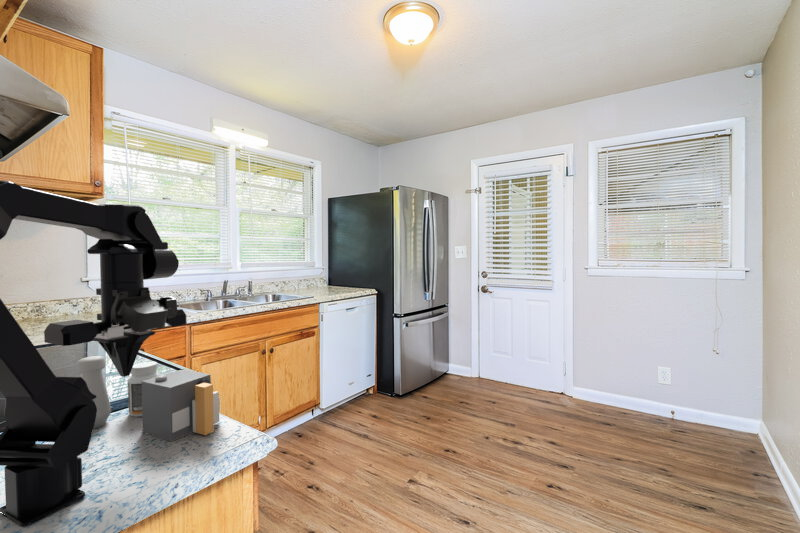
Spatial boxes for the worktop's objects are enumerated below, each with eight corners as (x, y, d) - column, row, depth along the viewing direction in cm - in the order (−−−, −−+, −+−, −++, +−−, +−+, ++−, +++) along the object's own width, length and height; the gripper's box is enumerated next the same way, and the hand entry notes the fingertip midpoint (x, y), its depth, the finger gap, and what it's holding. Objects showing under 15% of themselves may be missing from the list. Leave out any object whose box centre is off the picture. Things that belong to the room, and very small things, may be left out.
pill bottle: (168, 408, 81) (167, 361, 81) (143, 419, 76) (142, 369, 75) (147, 405, 83) (146, 359, 82) (121, 416, 77) (120, 367, 77)
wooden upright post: (205, 435, 68) (204, 387, 68) (192, 431, 69) (191, 384, 69) (228, 423, 73) (227, 379, 72) (216, 420, 74) (215, 376, 74)
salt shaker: (77, 434, 69) (75, 363, 69) (68, 426, 73) (66, 358, 72) (116, 423, 74) (114, 356, 73) (106, 415, 77) (104, 352, 77)
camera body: (174, 442, 66) (172, 384, 66) (142, 432, 70) (141, 378, 70) (213, 423, 74) (212, 371, 73) (183, 415, 77) (182, 366, 77)
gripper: (83, 288, 51) (86, 404, 52) (206, 279, 68) (208, 366, 68) (40, 285, 56) (44, 391, 56) (165, 278, 73) (167, 359, 73)
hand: (125, 375), depth 63 cm, fingers closed
